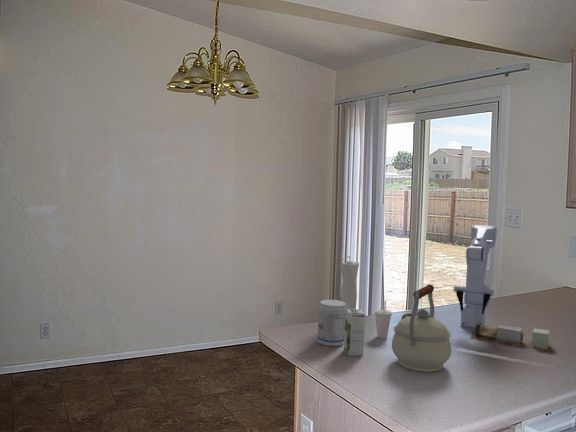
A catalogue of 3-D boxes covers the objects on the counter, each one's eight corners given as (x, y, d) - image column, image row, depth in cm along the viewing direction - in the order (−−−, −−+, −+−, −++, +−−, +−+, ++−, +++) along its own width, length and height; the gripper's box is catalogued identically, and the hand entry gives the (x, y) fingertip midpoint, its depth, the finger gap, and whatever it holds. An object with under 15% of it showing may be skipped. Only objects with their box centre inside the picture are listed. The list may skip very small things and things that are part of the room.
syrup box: (343, 350, 171) (344, 308, 170) (360, 350, 171) (361, 308, 171) (346, 356, 165) (348, 312, 164) (363, 356, 166) (365, 313, 165)
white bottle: (335, 322, 206) (338, 255, 205) (355, 323, 206) (358, 256, 204) (337, 328, 198) (339, 258, 196) (357, 329, 197) (360, 259, 196)
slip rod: (475, 335, 190) (476, 324, 190) (477, 333, 194) (477, 322, 193) (522, 343, 182) (522, 331, 182) (523, 340, 186) (523, 329, 185)
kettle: (439, 381, 146) (444, 297, 144) (380, 367, 155) (384, 288, 154) (460, 358, 167) (464, 284, 165) (406, 347, 176) (410, 277, 175)
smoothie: (390, 340, 184) (392, 303, 184) (373, 338, 186) (374, 301, 185) (390, 335, 191) (392, 299, 190) (373, 333, 192) (375, 298, 191)
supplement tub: (313, 339, 182) (315, 299, 181) (337, 338, 185) (339, 298, 184) (324, 348, 173) (325, 306, 172) (348, 346, 176) (350, 305, 175)
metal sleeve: (496, 340, 186) (497, 327, 186) (497, 337, 190) (498, 324, 190) (520, 344, 182) (520, 331, 182) (521, 341, 186) (521, 328, 186)
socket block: (532, 346, 180) (533, 331, 179) (533, 342, 185) (533, 328, 185) (547, 349, 177) (548, 334, 177) (548, 345, 182) (549, 330, 182)
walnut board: (469, 341, 187) (469, 338, 187) (474, 333, 198) (474, 331, 198) (550, 354, 174) (550, 352, 174) (551, 346, 185) (551, 343, 185)
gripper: (453, 276, 192) (451, 311, 193) (494, 280, 186) (492, 316, 187) (455, 274, 198) (453, 307, 199) (494, 277, 193) (492, 312, 193)
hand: (472, 311), depth 193 cm, fingers open, 7 cm apart
